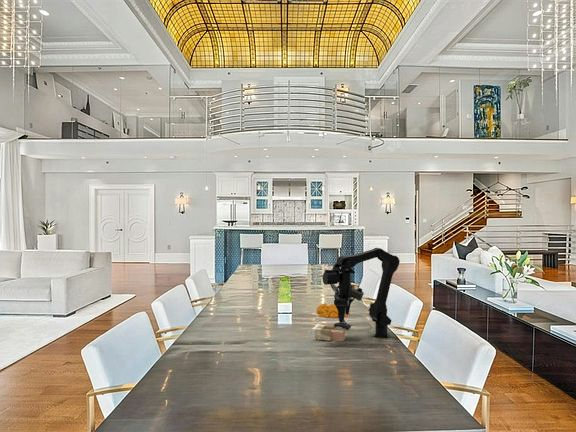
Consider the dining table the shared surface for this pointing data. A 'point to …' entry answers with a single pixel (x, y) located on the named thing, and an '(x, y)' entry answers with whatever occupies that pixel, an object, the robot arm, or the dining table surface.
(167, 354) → the dining table surface
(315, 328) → the backstop
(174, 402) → the dining table surface
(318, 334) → the block
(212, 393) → the dining table surface
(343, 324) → the statue
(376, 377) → the dining table surface
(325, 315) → the decorative ornament
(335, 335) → the peg
